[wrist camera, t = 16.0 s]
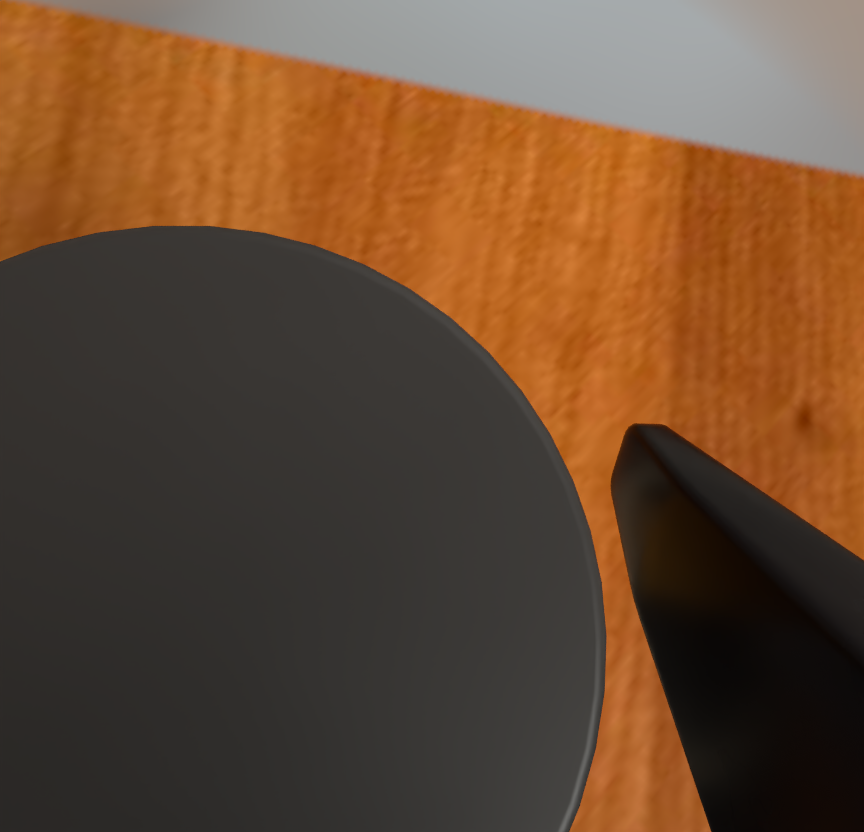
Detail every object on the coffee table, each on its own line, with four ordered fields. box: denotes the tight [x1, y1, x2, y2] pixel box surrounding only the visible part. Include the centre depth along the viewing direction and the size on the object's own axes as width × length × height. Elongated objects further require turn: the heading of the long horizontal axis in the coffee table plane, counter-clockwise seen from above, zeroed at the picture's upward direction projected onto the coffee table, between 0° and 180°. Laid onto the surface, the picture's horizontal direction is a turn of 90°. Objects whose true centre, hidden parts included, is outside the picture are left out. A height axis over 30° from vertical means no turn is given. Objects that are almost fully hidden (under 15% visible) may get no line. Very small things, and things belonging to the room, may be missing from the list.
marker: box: [0, 226, 606, 832], centre depth 9 cm, size 3×3×12 cm
